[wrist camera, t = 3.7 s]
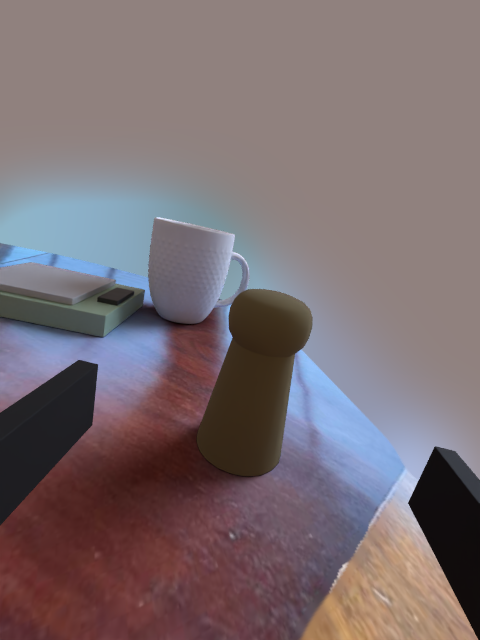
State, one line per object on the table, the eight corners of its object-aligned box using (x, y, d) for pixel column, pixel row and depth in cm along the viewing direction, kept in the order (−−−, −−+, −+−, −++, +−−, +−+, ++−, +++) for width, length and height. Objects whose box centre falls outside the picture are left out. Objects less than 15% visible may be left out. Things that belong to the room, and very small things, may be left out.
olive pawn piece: (262, 492, 18) (314, 316, 15) (178, 446, 21) (209, 284, 18) (290, 439, 24) (333, 301, 21) (221, 407, 26) (251, 278, 23)
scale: (142, 305, 47) (145, 284, 46) (103, 337, 34) (106, 308, 33) (34, 283, 46) (35, 261, 45) (-50, 306, 33) (-51, 276, 32)
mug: (227, 310, 55) (243, 234, 51) (252, 334, 45) (274, 243, 42) (138, 301, 49) (149, 214, 45) (145, 327, 39) (160, 219, 36)
